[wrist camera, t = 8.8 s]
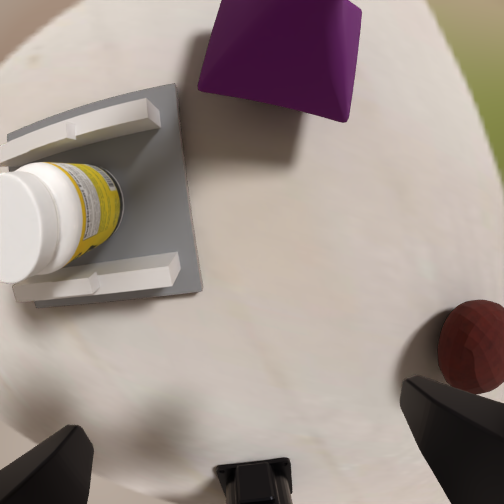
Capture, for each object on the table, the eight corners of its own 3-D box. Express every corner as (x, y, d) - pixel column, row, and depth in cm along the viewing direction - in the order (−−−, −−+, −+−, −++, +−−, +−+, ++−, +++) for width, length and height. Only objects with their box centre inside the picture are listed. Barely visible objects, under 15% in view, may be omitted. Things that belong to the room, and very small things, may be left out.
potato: (467, 266, 20) (520, 291, 14) (497, 334, 22) (537, 362, 16) (406, 335, 21) (451, 377, 15) (448, 389, 23) (483, 426, 17)
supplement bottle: (60, 246, 17) (-28, 291, 8) (55, 169, 15) (-42, 172, 7) (129, 244, 17) (58, 297, 9) (125, 161, 16) (46, 151, 8)
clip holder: (203, 286, 19) (196, 321, 14) (41, 303, 18) (5, 332, 13) (177, 87, 16) (160, 58, 11) (13, 135, 15) (-31, 130, 11)
